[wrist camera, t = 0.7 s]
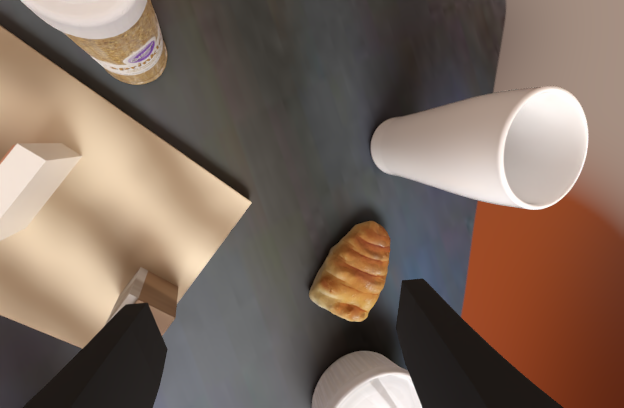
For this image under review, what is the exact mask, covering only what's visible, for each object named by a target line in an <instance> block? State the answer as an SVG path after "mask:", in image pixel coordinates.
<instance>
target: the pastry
mask: <svg viewBox="0 0 624 408" xmlns="http://www.w3.org/2000/svg"><path fill="white" fill-rule="evenodd" d="M389 253H390V238H389V236H388V233H387V232H386V230H385V229H384V228H383V227H382V226H381V225H380V224H378V223H376V222H374V221H367V222H363V223H359V224H356V225H355V226H354V227H353V228H352V229H351V230H350V231H349V232H348V233H347V235H346V236H344V237H343V238H342V239H341V240H340V241H339V242H338V243H337V244H336V245H334V246H333V247H332V248H331V249H330V252H329V255H328V256H327V258H326V259H325V261H324V263H323V265H322V267H321V268H320V269H319V271H318V273H317V275H316V277H315V279H314V281H313V284H312V286H311V288H310V292H309V297H310V299H311V300H312V301H313V302H314V303H316V304H317V305H319V306H320V307H322V308H325V309H327V310H329V311H330V312H331V313H333V314H334V315H337V316H339V317H341V318H344V319H346V320H348V321H356V322H361V321H363V320H364V319H366V318H367V317H368V313H369V311H370V310H371V308H372V307H373V306H374V304H375V303H376V301H377V299H378V297H379V294H380V291H381V290H382V289H383V287H384V283H385V279H386V275H387V267H388V263H389Z"/></svg>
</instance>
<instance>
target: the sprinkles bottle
mask: <svg viewBox="0 0 624 408" xmlns="http://www.w3.org/2000/svg"><path fill="white" fill-rule="evenodd" d="M21 1H22V2H23V3H24V4H25V5H26V6H27V7H28V8H29V9H30V10H31V11H33V12H34V13H35V14H36V15H37V16H39V17H40V18H41V19H42V20H44V21H45V22H46V23H48V24H49V25H51V26H52V27H54V28H56V29H58V30H60V31H62V32H63V33H64V34H65V35H67V36H68V37H69V38H70V39H72V40H73V41H74V42H75V43H76V44H77V45H78V46H80V47H81V48H82V49H83V50H84V51H86V52H87V53H88V54H89V55H90V56H91V57H92V58H93V59H94V60H96V61H97V62H98V63H99V64H100V65H102V66H103V67H104V69H105V70H106V71H107V72H108V73H109V74H110V75H111V76H113V77H114V78H116V79H118V80H119V81H122V82H125V83H128V84H133V85H140V84H146V83H148V82H151V81H153V80H156V79H157V78H158V77H159V76H160V75H161V74H162V72H163V71H164V69H165V66H166V62H167V49H166V45H165V43H164V41H163V39H162V34H161V30H160V27H159V23H158V20H157V16H156V14H155V11H154V9H153V6H152V4H151V0H21Z"/></svg>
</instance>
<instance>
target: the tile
mask: <svg viewBox="0 0 624 408" xmlns="http://www.w3.org/2000/svg"><path fill="white" fill-rule="evenodd" d="M81 157H82V156H81V155H80V154H78V153H77V152H75V151H73V150H72V149H70V148H69V147H67V146H65V145H64V144H62V143H17V144H16V145H13V146H12V147H11V148H10V149H9V151H8V152H7V153H6V154H5V156H4V157H3V158H2V159H1V161H0V241H1V240H3V239H5V238H7V237H9V236H11V235H13V234H15V233H17V232H19V231H21V230H23V229H25V228H26V227H27V226H28V225H29V224H30V222H31V221H32V220H33V218H34V217H35V216H36V215H37V213H38V212H39V211H40V210H41V208H42V207H43V206H44V204H45V203H46V202H47V201H48V199H49V198H50V197H51V196H52V194H53V193H54V192H55V190H56V189H57V188H58V187H59V185H60V184H61V183H62V182H63V180H64V179H65V178H66V176H67V175H68V174H69V173H70V171H71V170H72V169H73V167H74V166H75V165H76V164H77V162H78V161H79V160H80V159H81Z"/></svg>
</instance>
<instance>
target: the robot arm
mask: <svg viewBox="0 0 624 408" xmlns="http://www.w3.org/2000/svg"><path fill="white" fill-rule="evenodd" d="M396 330H397V334H398V338H399V342H400V346H401V349H402V353H403V357H404V360H405V364H406V366H407V369H408V372H409V374H410V377H411V380H412V382H413V385H414V387H415V390H416V393H417V395H418V398H419V400H420V403H421V405H422V408H563V407H562V406H561V405H560V404H558V403H557V402H556V401H554V400H553V399H552V398H551V397H549V396H548V395H547V394H546V393H544V392H543V391H542V390H541V389H539V388H538V387H537V386H536V385H535V384H533V383H532V382H531V381H530V380H529V379H527V378H526V377H525V376H524V375H523V374H522V373H520V372H519V371H518V370H517V369H516V368H515V367H513V366H512V365H511V364H510V363H509V362H508V361H507V360H506V359H504V358H503V357H502V356H501V355H500V354H499V353H498V352H497V351H496V350H495V349H493V348H492V347H491V346H490V345H489V344H488V343H487V342H486V341H485V340H484V339H483V338H482V337H481V336H480V335H479V334H478V333H477V332H475V331H474V330H473V329H472V328H471V327H470V326H469V325H468V324H467V323H466V322H465V321H464V320H463V319H462V318H461V317H460V316H459V315H458V314H457V313H456V312H455V311H454V310H453V309H452V308H451V307H450V306H449V305H448V304H447V303H446V302H445V301H444V300H443V299H442V297H441V296H440V295H439V294H438V293H437V292H436V291H435V290H434V289H433V288H432V287H431V286H430V285H429V284H428V283H427V282H426V281H425V280H424V279H414V280H402V285H401V293H400V301H399V309H398V317H397V325H396ZM166 353H167V347H166V345H165V343H164V340H163V338H162V335H161V333H160V331H159V328H158V326H157V324H156V321H155V319H154V316H153V314H152V312H151V309H150V307H149V304H148V303H137V304H126V305H125V306H124V307H123V308H122V309H121V310H119V311H118V313H117V314H116V315H115V316H114V317H113V318H112V319H111V320H110V321H109V322H108V323H107V324H106V325H105V326H104V327H103V328H102V329H101V330H100V331H99V332H98V333H97V334H96V335H95V336H94V337H93V338H92V340H91V341H90V342H89V343H88V344H87V345H86V346H85V347H84V348H83V349H82V350H81V351H80V352H79V353H78V354H77V355H76V356H75V357H74V358H73V359H72V360H71V361H70V362H69V363H68V364H67V365H66V366H65V367H64V368H63V369H62V370H61V371H60V372H59V373H58V374H57V375H56V376H55V377H54V378H53V379H52V380H51V381H50V382H49V383H48V384H47V385H46V386H45V387H44V388H43V389H42V390H41V391H40V392H39V393H38V394H37V395H35V396H34V397H33V398H32V399H31V400H30V401H29V402H28V403H27V404H26V405H25V406H24V407H23V408H153V405H154V402H155V399H156V396H157V393H158V389H159V386H160V382H161V377H162V373H163V368H164V363H165V358H166Z"/></svg>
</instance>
